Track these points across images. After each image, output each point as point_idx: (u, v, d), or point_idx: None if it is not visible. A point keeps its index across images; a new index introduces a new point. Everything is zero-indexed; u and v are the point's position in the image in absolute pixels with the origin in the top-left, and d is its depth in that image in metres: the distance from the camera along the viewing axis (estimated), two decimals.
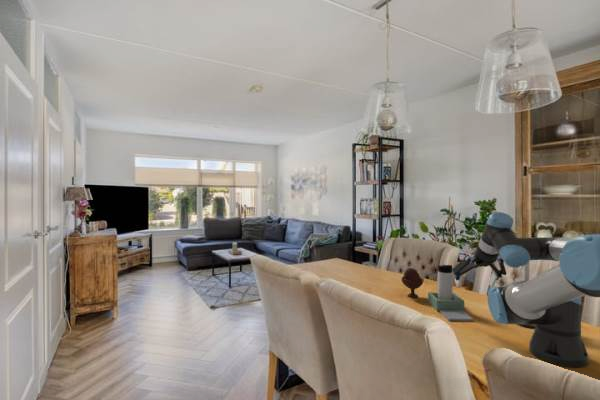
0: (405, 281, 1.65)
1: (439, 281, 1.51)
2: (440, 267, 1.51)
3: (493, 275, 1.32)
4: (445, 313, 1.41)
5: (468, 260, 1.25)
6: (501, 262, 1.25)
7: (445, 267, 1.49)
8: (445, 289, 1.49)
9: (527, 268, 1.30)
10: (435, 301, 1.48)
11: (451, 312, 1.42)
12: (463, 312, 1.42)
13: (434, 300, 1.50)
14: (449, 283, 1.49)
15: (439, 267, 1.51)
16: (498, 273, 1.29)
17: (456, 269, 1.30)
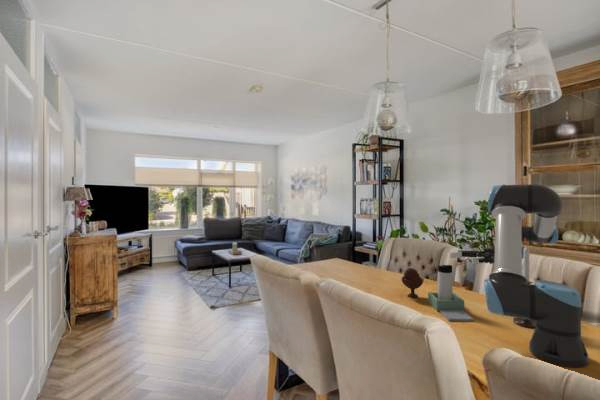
0: (405, 281, 1.65)
1: (439, 281, 1.51)
2: (440, 267, 1.51)
3: None
4: (445, 313, 1.41)
5: None
6: None
7: (445, 267, 1.49)
8: (445, 289, 1.49)
9: (527, 268, 1.30)
10: (435, 301, 1.48)
11: (451, 312, 1.42)
12: (463, 312, 1.42)
13: (434, 300, 1.50)
14: (449, 283, 1.49)
15: (439, 267, 1.51)
16: None
17: None
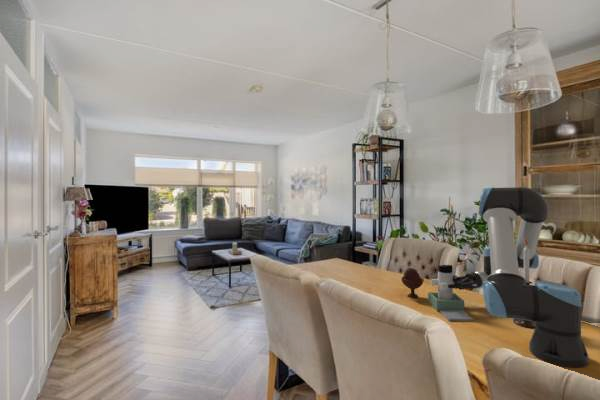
0: (405, 281, 1.65)
1: (439, 281, 1.51)
2: (440, 267, 1.50)
3: None
4: (445, 313, 1.41)
5: None
6: (472, 282, 1.49)
7: (445, 267, 1.49)
8: (445, 289, 1.49)
9: (527, 268, 1.30)
10: (435, 301, 1.48)
11: (451, 312, 1.42)
12: (463, 312, 1.42)
13: (434, 300, 1.50)
14: None
15: (439, 267, 1.51)
16: (457, 282, 1.49)
17: None
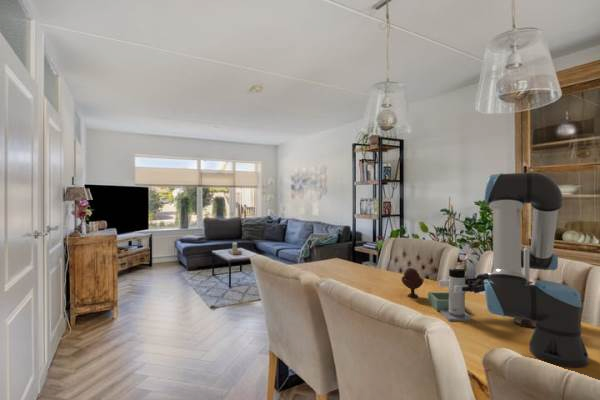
0: (405, 281, 1.65)
1: (450, 286, 1.39)
2: (452, 271, 1.38)
3: None
4: (445, 313, 1.41)
5: (466, 276, 1.49)
6: None
7: (457, 271, 1.37)
8: (457, 295, 1.37)
9: (527, 268, 1.30)
10: (435, 301, 1.48)
11: None
12: None
13: (434, 300, 1.50)
14: None
15: (451, 271, 1.39)
16: (472, 285, 1.36)
17: None
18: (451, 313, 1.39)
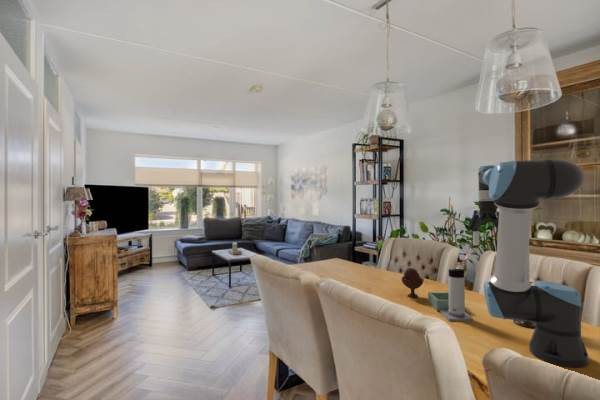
0: (405, 281, 1.65)
1: (450, 287, 1.39)
2: (451, 271, 1.38)
3: None
4: (445, 313, 1.41)
5: (474, 211, 1.51)
6: (497, 216, 1.39)
7: (457, 271, 1.37)
8: (457, 295, 1.37)
9: (527, 268, 1.30)
10: (435, 301, 1.48)
11: None
12: None
13: (434, 300, 1.50)
14: (462, 288, 1.37)
15: (450, 271, 1.39)
16: None
17: None
18: (451, 313, 1.39)
